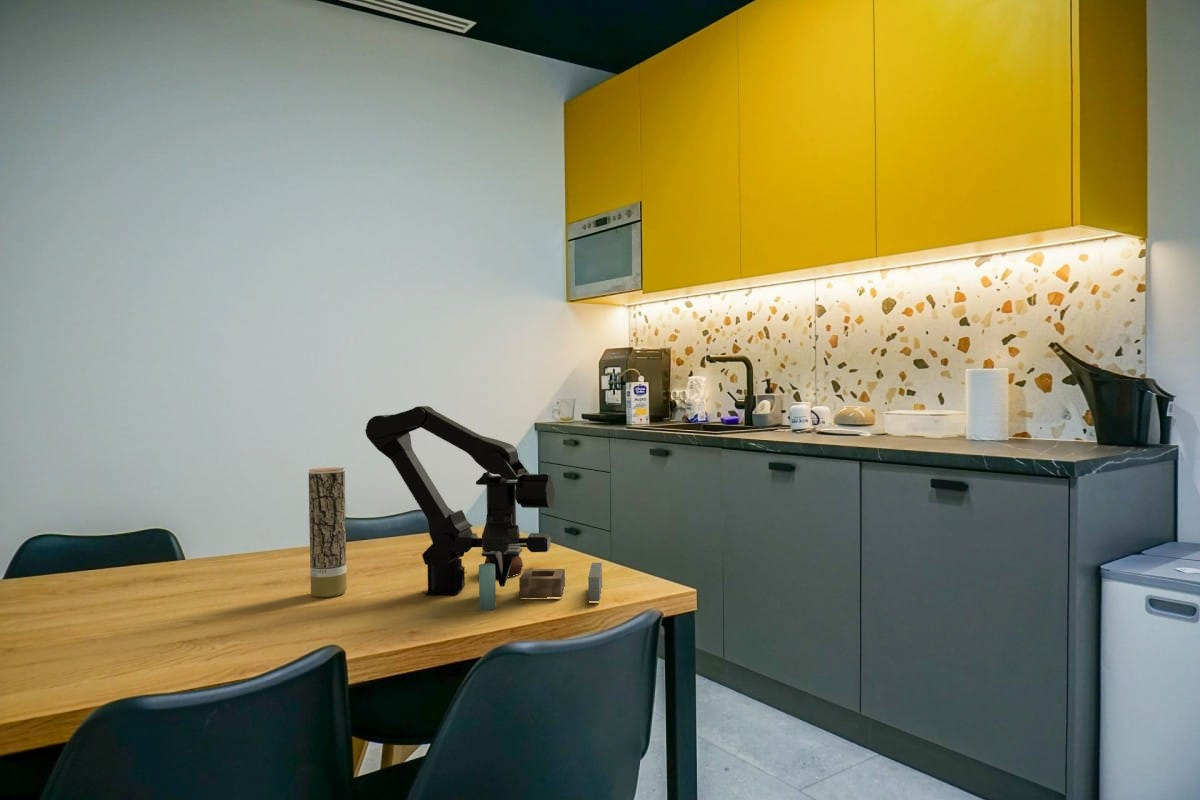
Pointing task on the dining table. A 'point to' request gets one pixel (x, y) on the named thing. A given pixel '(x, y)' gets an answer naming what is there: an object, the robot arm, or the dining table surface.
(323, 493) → the paper tube
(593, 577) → the bar
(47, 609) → the dining table surface
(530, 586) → the block
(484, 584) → the dowel
